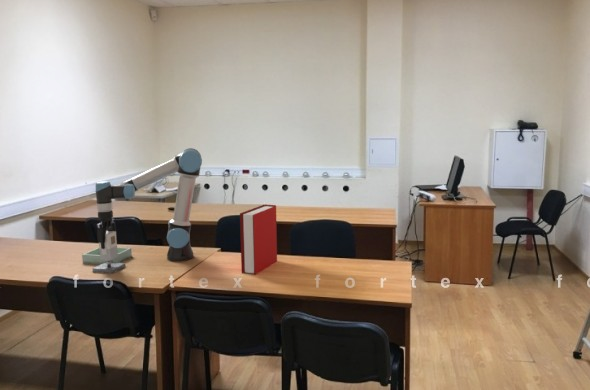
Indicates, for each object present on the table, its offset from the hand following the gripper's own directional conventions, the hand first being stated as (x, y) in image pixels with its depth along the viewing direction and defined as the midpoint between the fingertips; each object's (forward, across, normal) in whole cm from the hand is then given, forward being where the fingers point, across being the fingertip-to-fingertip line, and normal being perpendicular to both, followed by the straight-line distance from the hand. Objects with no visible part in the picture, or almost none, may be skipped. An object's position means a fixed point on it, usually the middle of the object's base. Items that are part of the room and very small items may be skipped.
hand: (108, 252), depth 269 cm
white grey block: (+3, 0, 0) cm, 3 cm away
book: (+11, -22, +79) cm, 82 cm away
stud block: (+9, 0, 0) cm, 9 cm away
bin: (+9, -16, -12) cm, 22 cm away
